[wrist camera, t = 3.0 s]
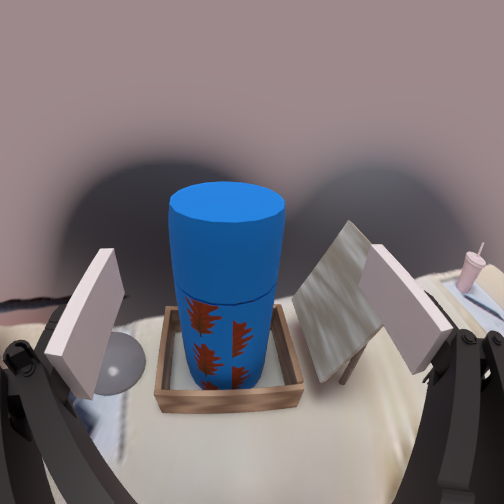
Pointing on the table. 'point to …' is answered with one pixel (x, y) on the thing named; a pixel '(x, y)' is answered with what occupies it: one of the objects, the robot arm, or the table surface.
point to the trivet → (120, 365)
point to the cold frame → (314, 329)
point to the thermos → (225, 278)
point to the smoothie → (470, 270)
